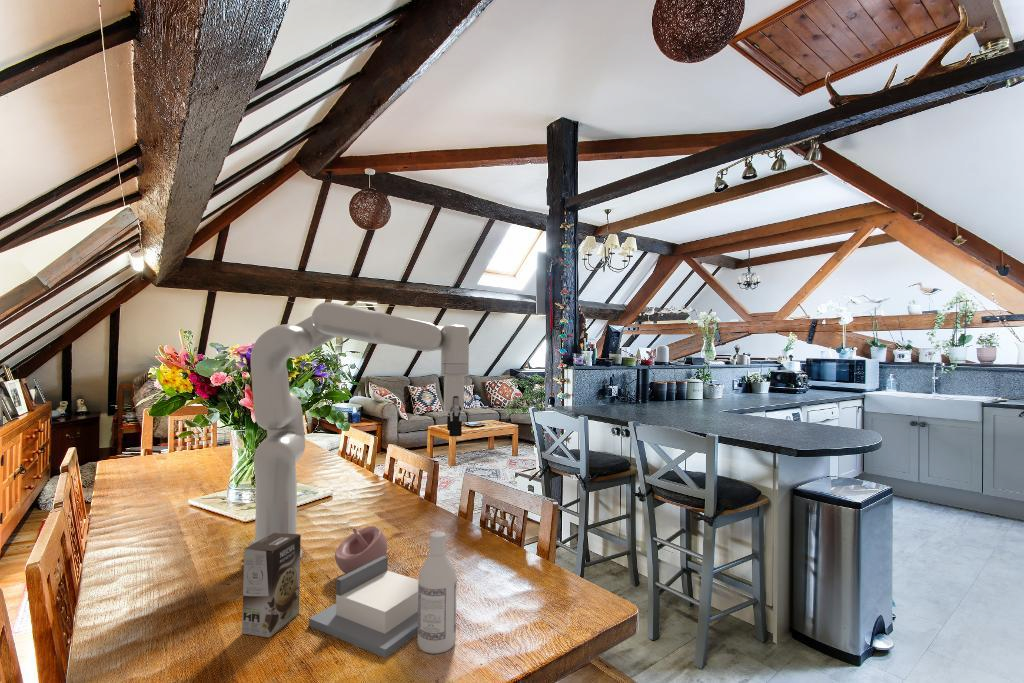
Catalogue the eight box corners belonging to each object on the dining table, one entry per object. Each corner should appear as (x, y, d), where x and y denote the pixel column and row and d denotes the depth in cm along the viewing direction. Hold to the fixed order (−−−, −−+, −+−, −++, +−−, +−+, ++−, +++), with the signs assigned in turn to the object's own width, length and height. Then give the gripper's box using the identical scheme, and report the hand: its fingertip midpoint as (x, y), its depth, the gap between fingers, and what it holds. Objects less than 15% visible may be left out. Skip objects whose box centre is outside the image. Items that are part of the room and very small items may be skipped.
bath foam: (438, 628, 96) (439, 524, 97) (463, 642, 92) (464, 533, 92) (409, 644, 91) (411, 534, 91) (434, 660, 86) (436, 544, 87)
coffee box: (270, 638, 92) (272, 551, 93) (240, 634, 94) (242, 548, 94) (301, 613, 101) (302, 533, 102) (273, 609, 103) (274, 531, 103)
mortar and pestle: (327, 572, 120) (328, 524, 120) (375, 559, 127) (375, 514, 128) (344, 591, 111) (345, 539, 111) (395, 577, 118) (395, 528, 118)
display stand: (308, 626, 97) (309, 581, 97) (382, 584, 114) (383, 547, 114) (385, 658, 87) (386, 609, 87) (453, 607, 104) (454, 566, 104)
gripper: (439, 369, 144) (439, 428, 143) (442, 371, 127) (441, 439, 126) (465, 369, 145) (465, 427, 145) (471, 371, 128) (471, 438, 128)
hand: (454, 433), depth 136 cm, fingers open, 9 cm apart
